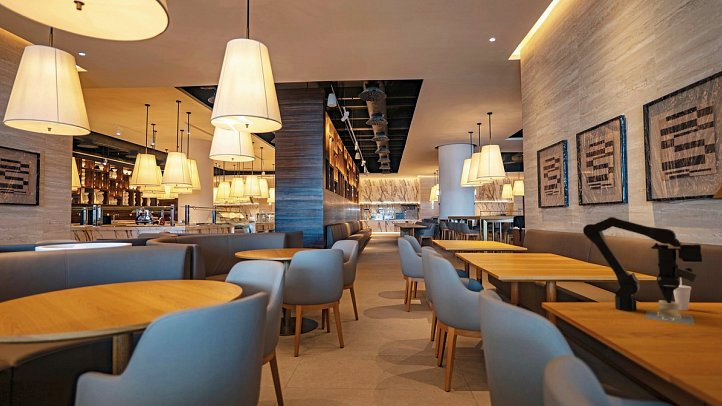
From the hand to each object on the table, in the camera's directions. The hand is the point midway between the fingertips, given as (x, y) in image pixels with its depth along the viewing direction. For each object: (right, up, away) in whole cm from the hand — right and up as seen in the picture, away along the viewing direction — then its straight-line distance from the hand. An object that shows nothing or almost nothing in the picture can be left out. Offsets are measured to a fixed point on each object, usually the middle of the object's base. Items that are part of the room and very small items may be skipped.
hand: (669, 300), depth 144 cm
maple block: (0, -6, 0) cm, 6 cm away
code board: (-2, -6, -3) cm, 7 cm away
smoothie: (+16, -7, +12) cm, 21 cm away
